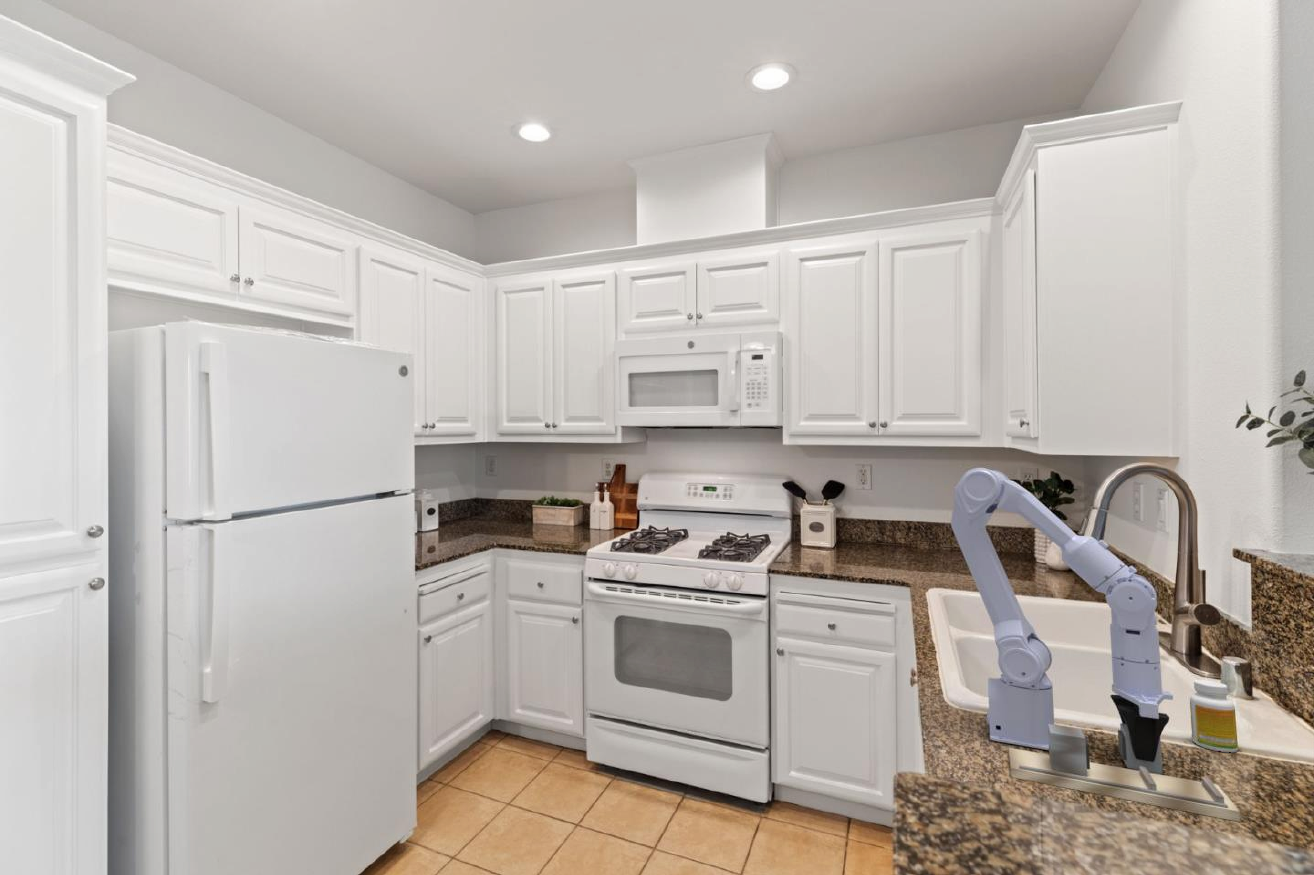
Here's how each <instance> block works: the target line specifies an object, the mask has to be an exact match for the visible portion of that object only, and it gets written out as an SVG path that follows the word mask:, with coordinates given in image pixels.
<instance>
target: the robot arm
mask: <svg viewBox="0 0 1314 875" xmlns="http://www.w3.org/2000/svg"><path fill="white" fill-rule="evenodd" d="M960 478H961V479H959V482H958V483H957V484H956V486H955V488H954V502H953V508H952V512H951V513H952V514H951V520H950V525H951V529H952V531H953V533H954V536H955V539H956V541H957V543H958V546H959V549H960V550H961V553H962V555H963V558H964V560H965V562H966V565H967V567H968V569H969V572H970V574H971V576H972V579H973V581H974V583H975V585H976V588H977V590H978V593H979V595H980V597H981V599H982V603H983V605H984V608H985V609H986V611H987V613H988V616H989V620H990V621H991V623H992V626H993V636H994V642H995V645H996V647H997V651H998V659H997V664H998V668H999V670H1000V672H1001V674H1000V677H999V678H997V677H996V678H995V677H994V678H993V677H988V678H987V692H988V693H987V694H988V712H986V724H987V725H989V739H990V740H991V741H994V742H1000V743H1005V744H1011V745H1017V746H1023V747H1029V748H1034V749H1039V750H1040V749H1041V750H1046V751H1049V738H1048V724H1053V725H1055V712H1054V711H1055V710H1054V689H1053V681H1051V679H1050V678H1049V677H1048V674H1047V673H1046V672H1047V671H1048V670H1049V669H1050V668H1051V666H1052V664H1053V656H1052V652H1051V649H1050V648H1049V646H1048V645H1047V644H1046V643H1045V642H1044V641H1043V640H1041V638H1040V637H1039V636H1038V635H1037V633H1036V631H1035V629H1034V627H1033V626H1032V624H1031V623H1030V622H1029V620H1028V619H1027V618H1026V616H1025V614H1024V611H1023V610H1022V608H1021V605H1020V604H1019V601H1018V599H1017V597H1016V594H1015V592H1014V589H1013V587H1012V585H1011V582H1010V580H1009V578H1008V576H1007V573H1006V571H1005V568H1004V567H1003V565H1002V561H1001V560H1000V557H999V556H998V554H997V551H996V548H995V546H994V545H993V542H992V540H991V538H990V535H989V533H988V531H987V529H986V528H987V525H988V522H989V521H990V520H991V518H992V516H993V514H994V512H995V511H997V509H1000V510H1005V511H1008V512H1013V513H1015V514H1019V515H1020V516H1021V517H1022V518H1024V519H1025V521H1027V522H1028V523H1029V524H1031V525H1032V526H1033V527H1034V528H1036V529H1037V530H1038V531H1040V533H1042V534H1043V535H1044V536H1045V537H1046V538H1048V539H1049V540H1050V541H1051V542H1052V543H1054V544H1055V545H1057V547H1059V548H1060V549H1061V559H1062V562H1064V564H1065V565H1067V567H1069V568H1070V569H1071V570H1072V571H1073V572H1074V573H1075V574H1077V575H1078V576H1079V577H1080V578H1081V579H1082V580H1084V582H1086V583H1087V584H1088V585H1089V586H1090V587H1091V588H1092V589H1094V590H1095V591H1096V592H1097V593H1101V594H1103V595H1105V601H1106V603H1107V605H1108V607H1109V608H1110V613H1111V614H1110V616H1111V623H1110V625H1109V630H1110V631H1109V632H1110V650H1111V667H1112V668H1111V670H1112V671H1111V672H1112V684H1111V691H1112V692H1113V693H1115V694H1111V695H1110V698H1111V700H1112V701H1113V703H1114V705H1115V707H1116V709H1117V712H1118V715H1119V717H1120V721H1121V724H1126V725H1127V728H1128V731H1129V735H1130V740H1131V745H1132V749H1133V752H1134V755H1135V757H1136V759H1138V760H1144V761H1150V762H1154V761H1155V758H1156V753H1157V748H1158V743H1159V739H1160V740H1161V736H1162V733H1163V731H1164V729H1165V727H1166V726H1167V724H1169V721H1170V717H1169V715H1168V714H1167V713H1163V712H1159V705H1160V704H1161V703H1162V702H1163V701H1164V700H1170V701H1172V700H1174V695H1173V694H1172V692H1170V691H1166V690H1163V685H1162V684H1163V683H1162V670H1161V651H1160V650H1161V649H1160V636H1159V629H1158V628H1157V624H1158V620H1157V619H1158V618H1157V616H1156V612H1155V611H1156V608H1157V606H1158V601H1157V600H1158V599H1157V591H1156V590H1155V588H1154V586H1153V585H1152V584H1151V583H1150V582H1149V580H1148V579H1147V578H1146V577H1144V576H1143V575H1139V574H1136V573H1137V571H1138V570H1137V569H1136V568H1135V567H1134V566H1133V565H1130V566H1128V565H1127V564H1125V563H1124V562H1123V561H1122V560H1121V559H1120V558H1118V557H1117V556H1116V555H1115V554H1114V553H1112V552H1111V551H1110V550H1109V549H1108V547H1109V544H1108V543H1107V542H1106V541H1104V540H1103V539H1100V540H1097V539H1096V538H1095V537H1093V536H1091V535H1077V534H1076V533H1075V532H1074V531H1073V529H1071V528H1070V527H1069V526H1068V525H1066V524H1065V523H1064V522H1063V521H1062V520H1061V519H1060V517H1058V516H1057V515H1056V514H1054V513H1053V512H1052V511H1051V510H1050V509H1049V508H1048V507H1047V506H1045V504H1043V502H1041V501H1040V500H1039V499H1038V498H1037V497H1035V496H1034V495H1033V494H1032V492H1030V491H1028V490H1027V489H1026V488H1025V487H1023V486H1021V485H1020V484H1019V483H1017V482H1016V481H1014V480H1012V479H1011V480H1010V479H1009V477H1008V476H1007V475H1006V474H1004V473H1003V472H1001V471H999V470H993V469H988V468H984V467H976V468H972V469H969V470H968V471H966V472H965V473H964V474H963V475H962V477H960Z"/></svg>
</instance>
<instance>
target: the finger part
mask: <svg viewBox="0 0 1314 875" xmlns="http://www.w3.org/2000/svg"><path fill="white" fill-rule="evenodd" d="M1119 726H1120V730H1119V729H1117V740H1118V753H1119V754H1120V757H1121V758H1122V760H1123V762H1124V765H1125V766H1126V769H1131V770H1137V771H1139V766H1143V767H1146V769H1147V770H1148V772H1149V773H1154V774H1160V775H1164V774H1163V773H1164V772H1163V762H1162V761H1163V757H1162V744H1161V742H1162V740H1161V738H1160V739H1159V743H1158V748H1157V753H1156V758H1155V761H1154V762H1150V761H1144V760H1138V759H1136V757H1135V755H1134V752H1133V749H1132V745H1131V740H1130V735H1129V731H1128V728H1127V725H1126V724H1122V722H1121V723H1119Z"/></svg>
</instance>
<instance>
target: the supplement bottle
mask: <svg viewBox="0 0 1314 875" xmlns="http://www.w3.org/2000/svg"><path fill="white" fill-rule="evenodd" d="M1193 689H1194V691H1196V692H1195V693H1192V694H1191V695H1190V696H1189V709H1190V724H1191V725H1190V726H1191V738H1193V739H1192V741H1193V740H1194V742H1193V743H1194V744H1195V743H1196V744H1195V745H1197V746H1199V747H1201V748H1204V749H1207V750H1210V751H1213V752H1214V751H1215V752H1218V751H1221V752H1220V753H1229V752H1231V753H1236V752H1238V751H1239V744H1238V734H1237V733H1238V731H1237V721H1236V708H1235V706H1236V704H1235V703H1234V702H1233V701H1232V700H1231V699H1229V698H1227V696H1229V692H1228V690H1229V689H1228V685H1226V684H1225V683H1221V682H1217V681H1213V680H1205V679H1194V681H1193Z"/></svg>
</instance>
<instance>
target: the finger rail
mask: <svg viewBox="0 0 1314 875" xmlns="http://www.w3.org/2000/svg"><path fill="white" fill-rule="evenodd" d="M1048 738H1049V750H1048V752H1049V753H1048V754H1046V753H1040V752H1035V751H1029V750H1025V749H1024V750H1023V749H1017V748H1013V747H1009V748H1008V754H1009V755H1008V756H1009V766H1010V775H1011V778H1015V779H1019V780H1025V781H1030V782H1034V783H1035V782H1036V783H1039V784H1045V785H1050V786H1054V787H1061V788H1065V789H1071V790H1076V791H1079V792H1080V791H1081V792H1086V793H1090V794H1096V795H1101V796H1105V797H1111V798H1116V799H1122V800H1125V801H1132V802H1137V803H1140V804H1141V803H1142V804H1147V805H1152V806H1157V807H1162V808H1167V809H1172V810H1177V811H1183V812H1187V813H1191V814H1196V815H1197V814H1198V815H1202V816H1206V817H1207V816H1208V817H1212V818H1217V819H1222V820H1228V821H1234V822H1238V823H1241V822H1242V821H1241V820H1242V819H1241V812H1240V810H1239V809H1238V807H1237V806H1236V805H1235V803H1233V801H1232V800H1231V799H1230V798H1229V797H1228V795H1227V794H1226V793H1225V791H1223V789H1222V787H1220V785H1219V784H1215V783H1213V782H1212V781H1211V779H1210V778H1209V777H1206V776H1201V778H1200V779H1201V781H1198V780H1193V779H1186V778H1182V777H1181V778H1180V777H1176V776H1169V775H1166V774H1165V775H1164V774H1159V773H1153V772H1148V770H1147V769H1146V767H1143V766H1139V770H1136V769H1130V768H1127V767H1126V768H1124V767H1119V766H1114V765H1113V766H1112V765H1109V764H1104V763H1103V764H1101V763H1096V762H1091V761H1090V746H1089V745H1090V744H1089V742H1088V740H1087V737H1086V736H1085V735H1084V733H1083V730H1082V728H1077V727H1071V726H1065V725H1061V724H1060V725H1059V724H1054V725H1053V724H1048Z"/></svg>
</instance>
